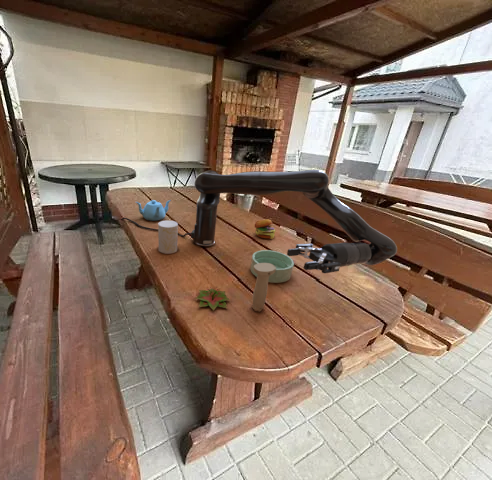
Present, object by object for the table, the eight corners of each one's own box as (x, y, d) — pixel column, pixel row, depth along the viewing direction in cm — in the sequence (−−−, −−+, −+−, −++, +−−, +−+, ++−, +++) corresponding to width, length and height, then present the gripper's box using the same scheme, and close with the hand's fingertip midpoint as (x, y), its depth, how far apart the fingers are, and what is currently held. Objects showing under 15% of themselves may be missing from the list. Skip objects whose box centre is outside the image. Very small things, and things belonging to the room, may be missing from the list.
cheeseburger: (267, 241, 130) (266, 221, 127) (250, 239, 138) (249, 220, 135) (279, 236, 136) (278, 217, 133) (262, 234, 144) (261, 216, 141)
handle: (270, 311, 81) (279, 269, 75) (252, 315, 78) (260, 272, 72) (261, 302, 85) (269, 261, 79) (244, 306, 82) (250, 264, 76)
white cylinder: (162, 254, 110) (161, 228, 105) (156, 246, 116) (155, 221, 111) (180, 251, 113) (180, 226, 108) (173, 244, 120) (173, 219, 115)
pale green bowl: (249, 280, 96) (251, 265, 94) (250, 260, 110) (252, 247, 108) (292, 286, 94) (296, 272, 92) (288, 266, 108) (291, 253, 106)
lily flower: (229, 290, 89) (230, 278, 88) (233, 313, 79) (234, 301, 77) (194, 288, 89) (194, 277, 87) (193, 312, 78) (193, 299, 76)
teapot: (150, 212, 159) (149, 195, 154) (172, 216, 154) (172, 199, 150) (135, 219, 146) (135, 201, 142) (159, 224, 141) (159, 206, 137)
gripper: (326, 235, 87) (285, 238, 82) (361, 254, 75) (314, 259, 70) (321, 255, 90) (280, 258, 85) (353, 277, 78) (308, 283, 73)
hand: (296, 259), depth 78 cm, fingers open, 8 cm apart
